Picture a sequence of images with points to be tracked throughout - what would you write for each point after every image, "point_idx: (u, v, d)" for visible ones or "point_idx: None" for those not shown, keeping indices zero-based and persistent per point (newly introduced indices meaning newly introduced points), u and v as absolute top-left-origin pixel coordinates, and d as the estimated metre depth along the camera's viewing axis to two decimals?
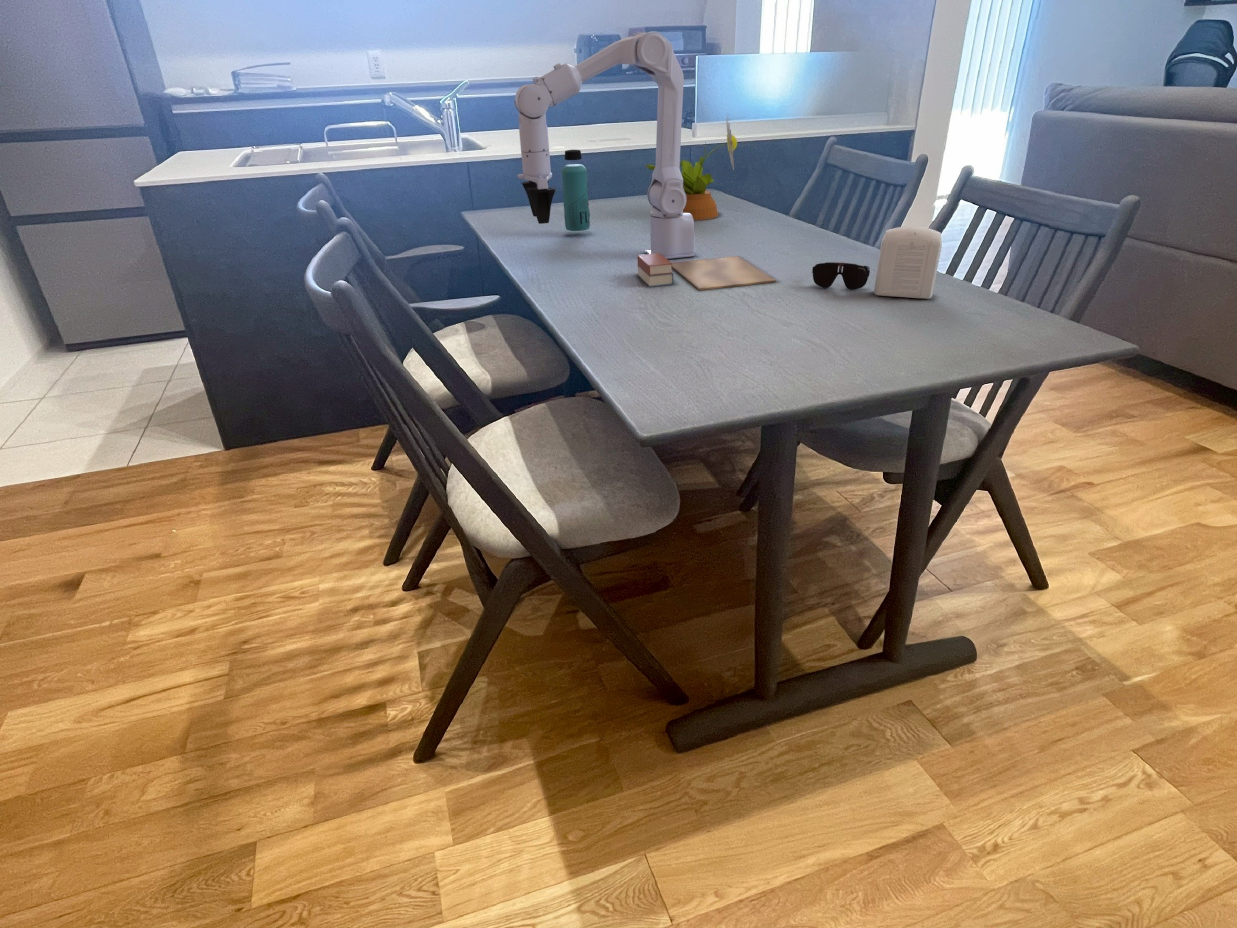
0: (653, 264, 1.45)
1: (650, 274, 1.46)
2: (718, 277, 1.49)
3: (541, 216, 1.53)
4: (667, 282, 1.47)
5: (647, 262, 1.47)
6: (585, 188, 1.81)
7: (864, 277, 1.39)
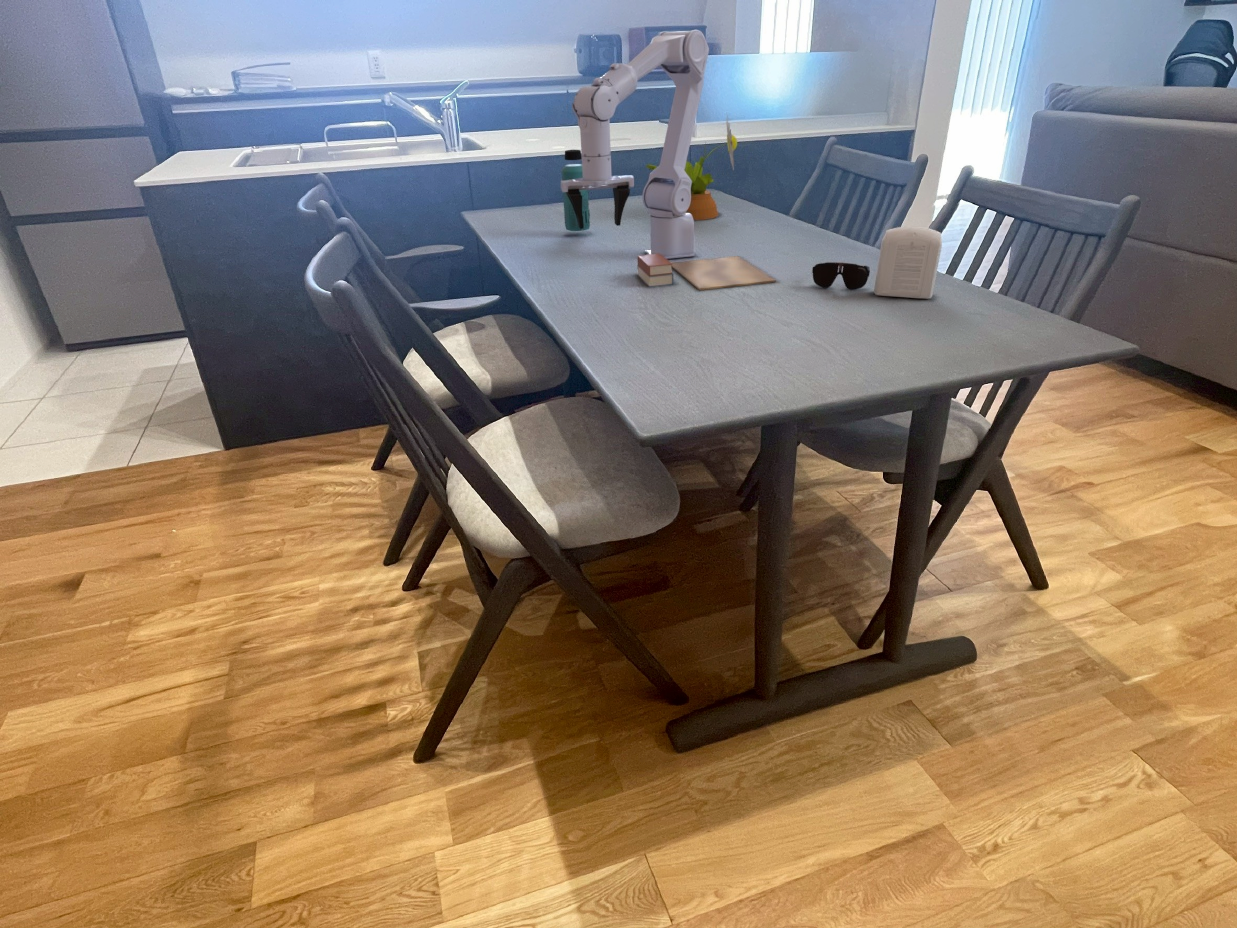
0: (653, 264, 1.45)
1: (650, 274, 1.46)
2: (718, 277, 1.49)
3: None
4: (667, 282, 1.47)
5: (647, 262, 1.47)
6: None
7: (864, 277, 1.39)
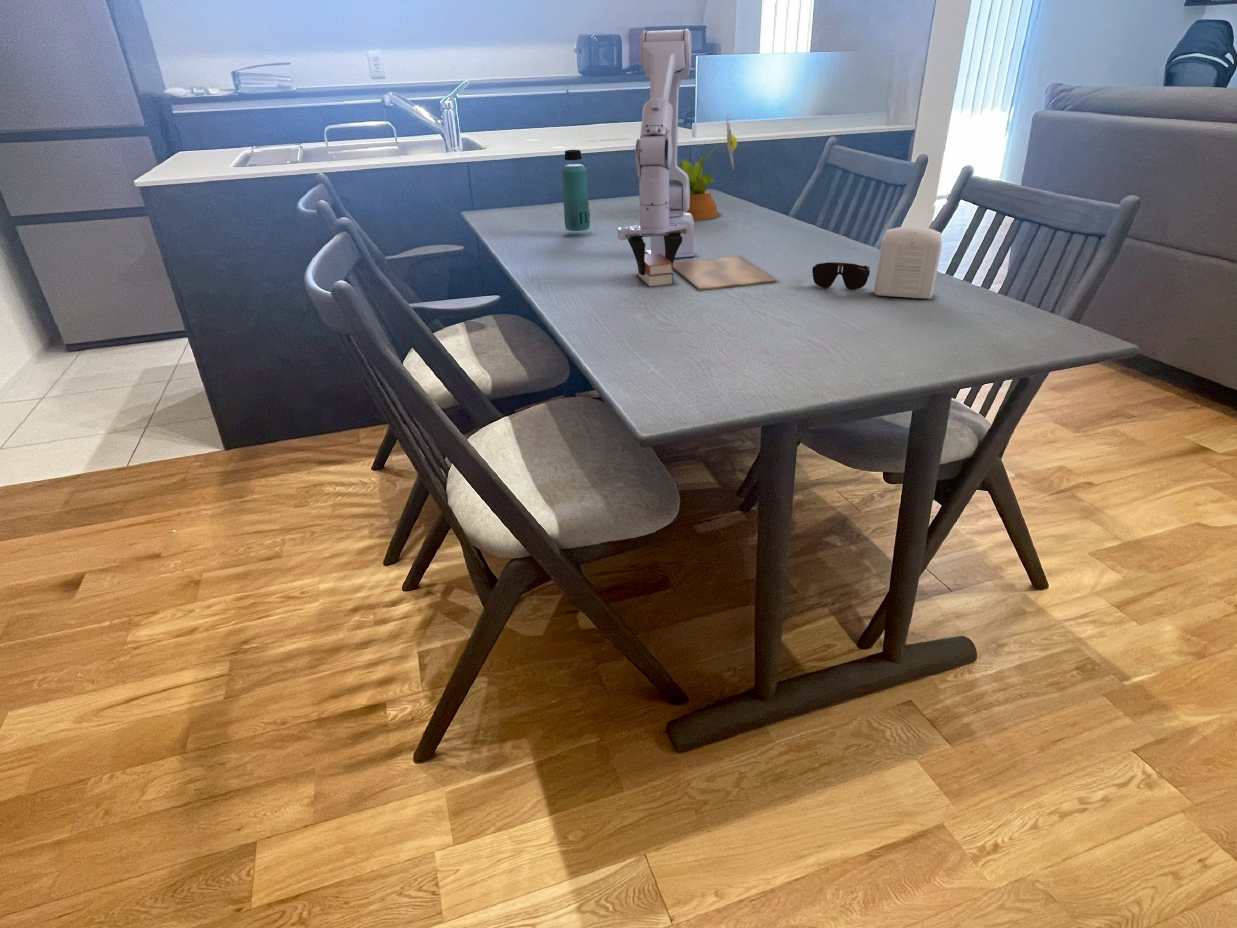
0: (653, 264, 1.45)
1: (650, 274, 1.46)
2: (718, 277, 1.49)
3: None
4: (667, 282, 1.47)
5: (647, 262, 1.47)
6: (585, 188, 1.81)
7: (864, 277, 1.39)
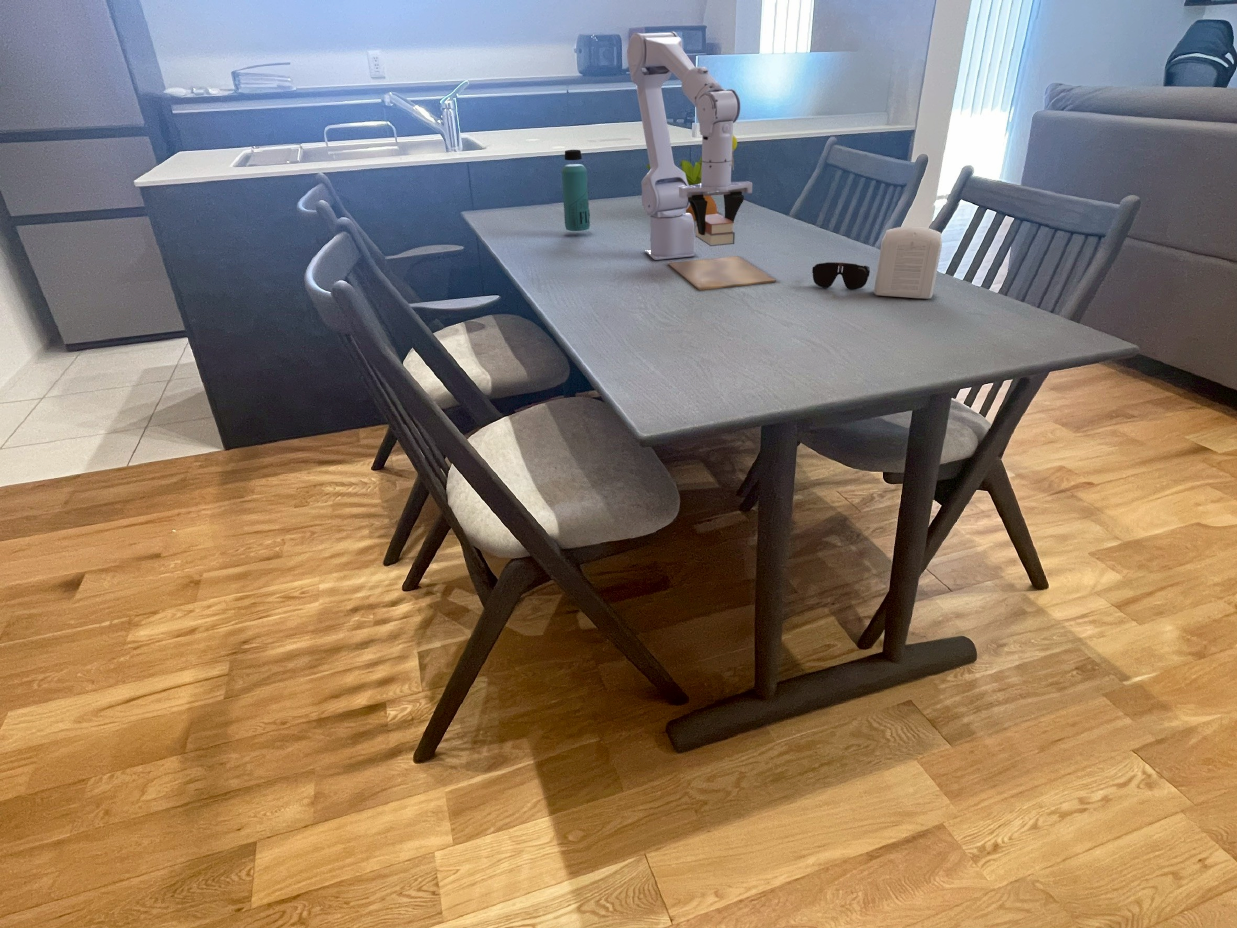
0: (715, 223, 1.44)
1: (712, 233, 1.44)
2: (718, 277, 1.49)
3: None
4: (728, 242, 1.46)
5: (708, 221, 1.46)
6: (585, 188, 1.81)
7: (864, 277, 1.39)
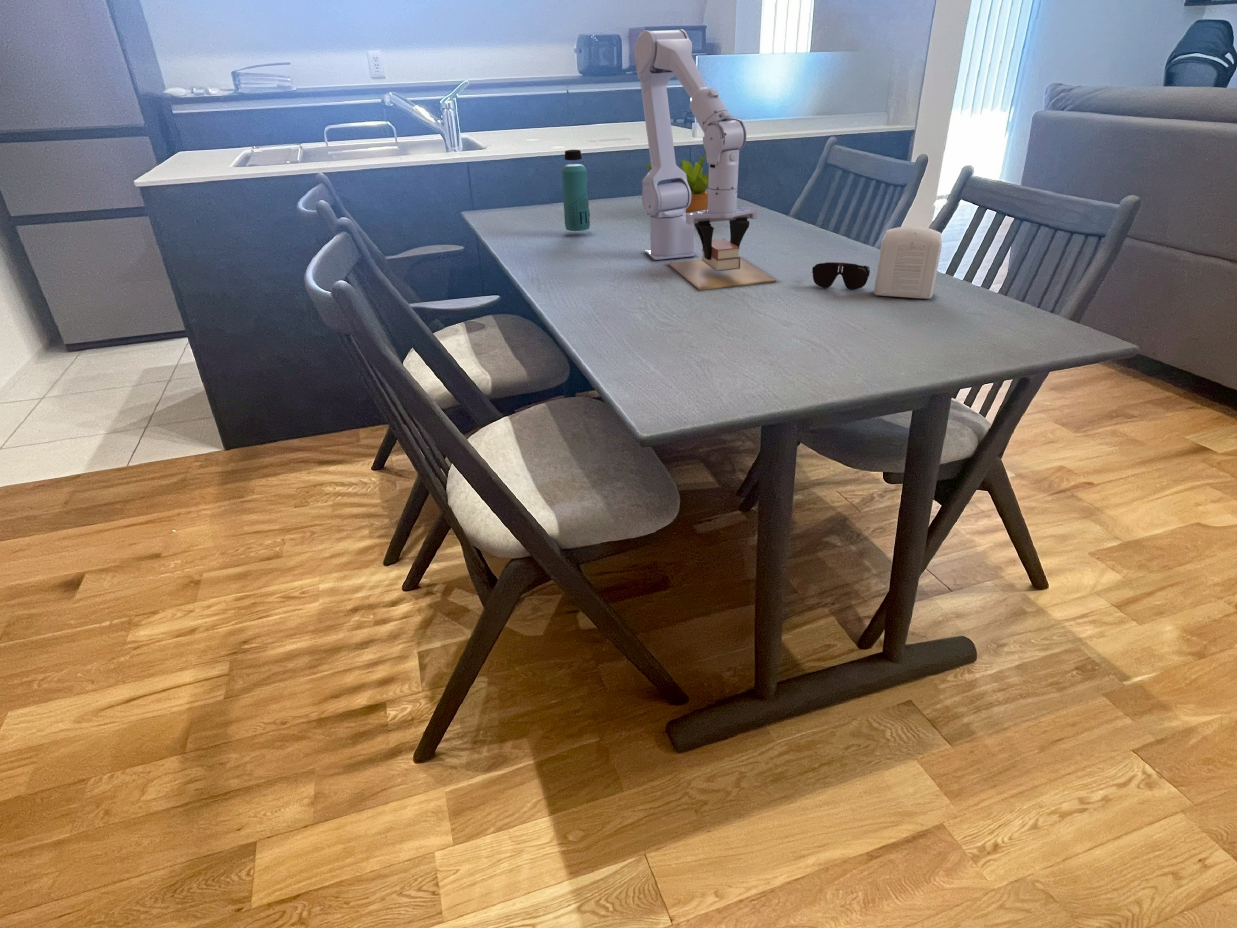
0: (721, 248, 1.47)
1: (718, 258, 1.47)
2: (718, 277, 1.49)
3: None
4: (734, 266, 1.49)
5: (714, 247, 1.48)
6: (585, 188, 1.81)
7: (864, 277, 1.39)
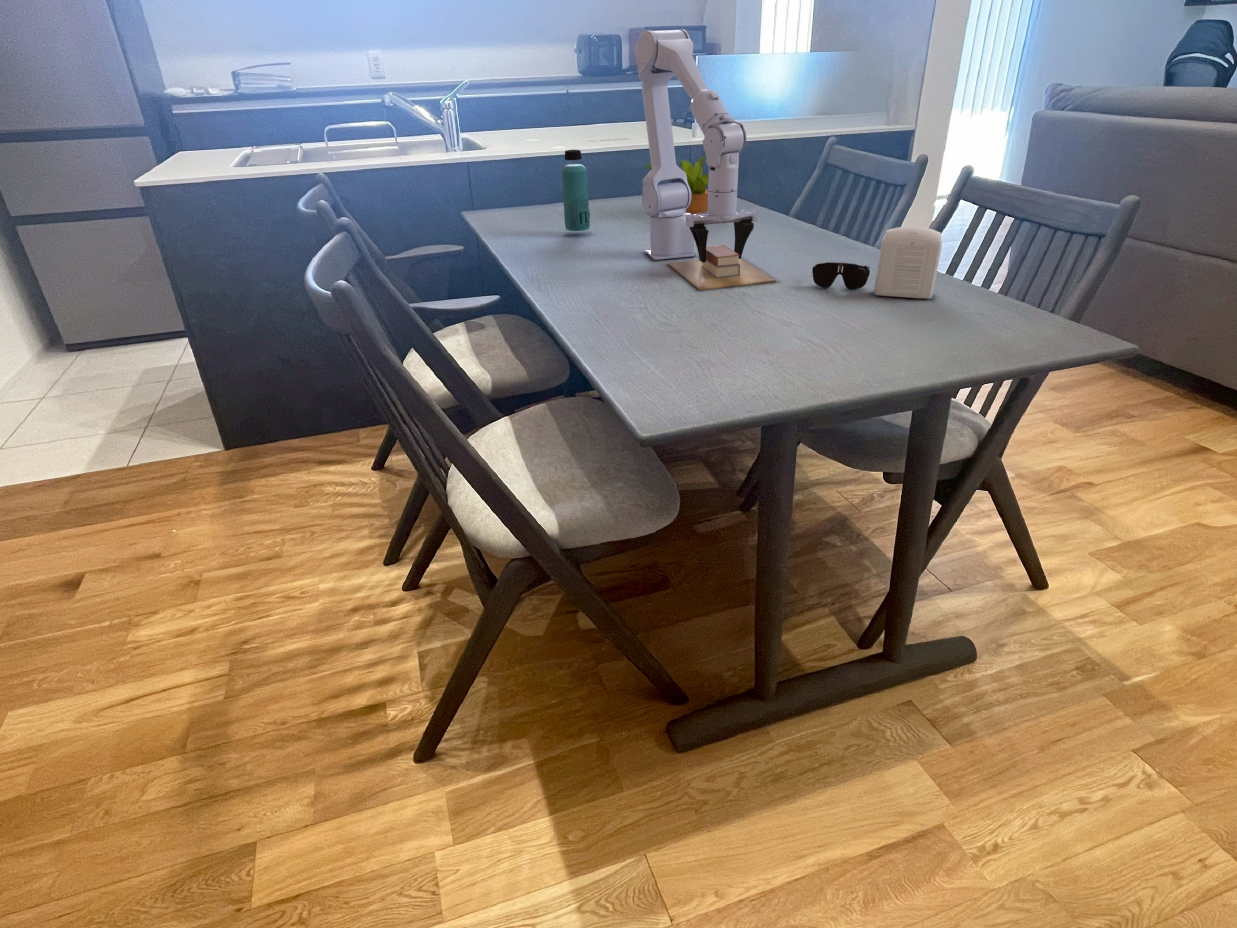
0: (721, 255, 1.48)
1: (718, 265, 1.48)
2: None
3: None
4: (734, 273, 1.50)
5: (714, 253, 1.49)
6: (585, 188, 1.81)
7: (864, 277, 1.39)
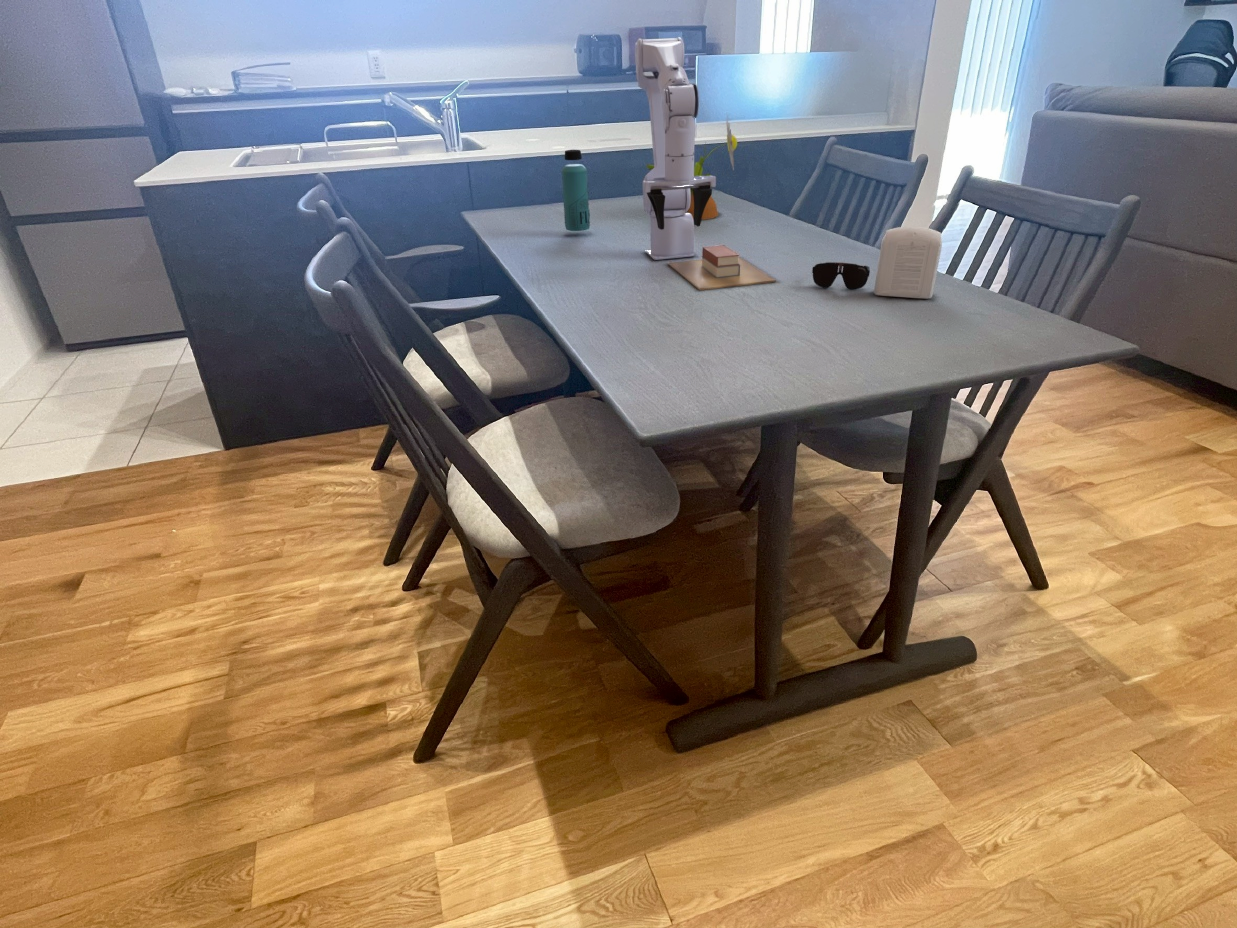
0: (721, 255, 1.48)
1: (718, 265, 1.48)
2: None
3: None
4: (734, 273, 1.50)
5: (714, 253, 1.49)
6: (585, 188, 1.81)
7: (864, 277, 1.39)
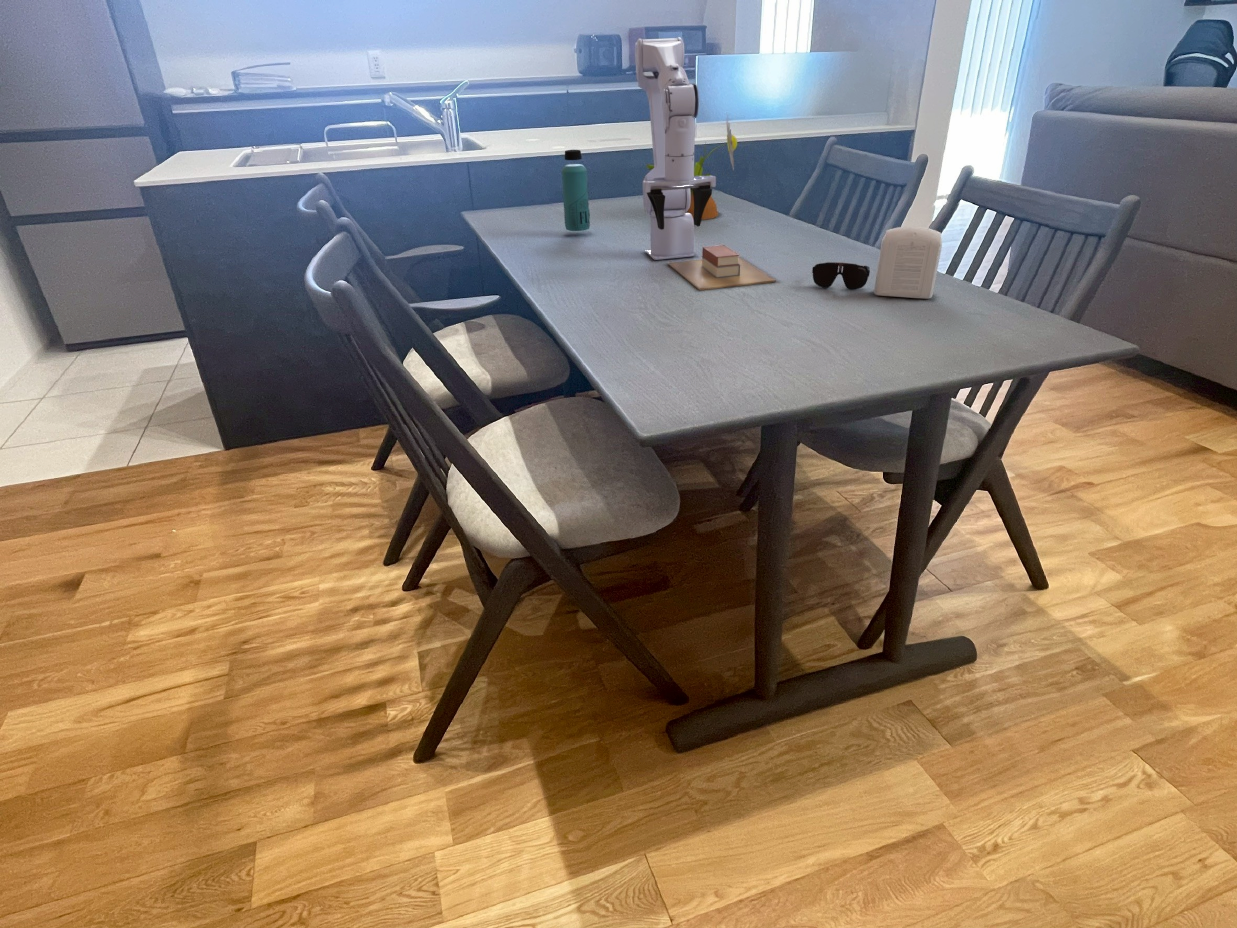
0: (721, 255, 1.48)
1: (718, 265, 1.48)
2: None
3: None
4: (734, 273, 1.50)
5: (714, 253, 1.49)
6: (585, 188, 1.81)
7: (864, 277, 1.39)
